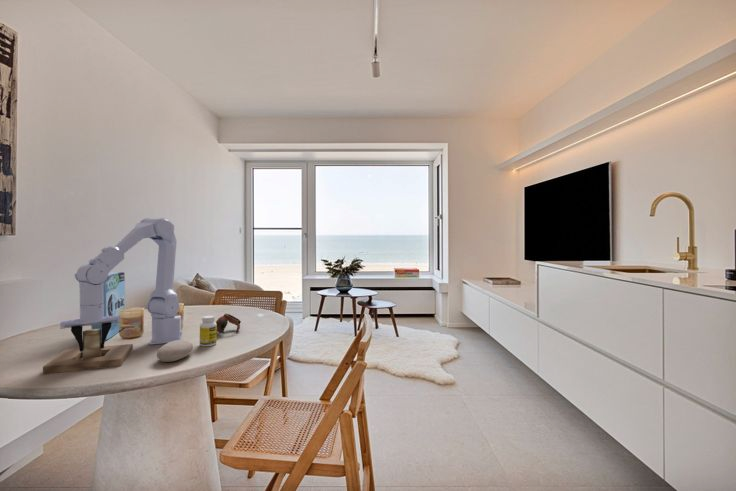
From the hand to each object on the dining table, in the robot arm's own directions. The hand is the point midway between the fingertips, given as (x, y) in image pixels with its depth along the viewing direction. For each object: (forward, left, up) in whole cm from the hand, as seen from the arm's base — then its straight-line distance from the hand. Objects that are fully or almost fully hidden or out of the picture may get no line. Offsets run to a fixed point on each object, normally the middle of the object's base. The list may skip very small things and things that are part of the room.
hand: (92, 349), depth 111 cm
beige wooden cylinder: (0, 0, -2) cm, 2 cm away
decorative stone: (-23, +6, -4) cm, 24 cm away
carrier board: (0, 0, -3) cm, 3 cm away
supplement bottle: (-32, -6, -4) cm, 33 cm away
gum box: (+3, -33, -4) cm, 33 cm away
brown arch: (-38, -21, -4) cm, 44 cm away
